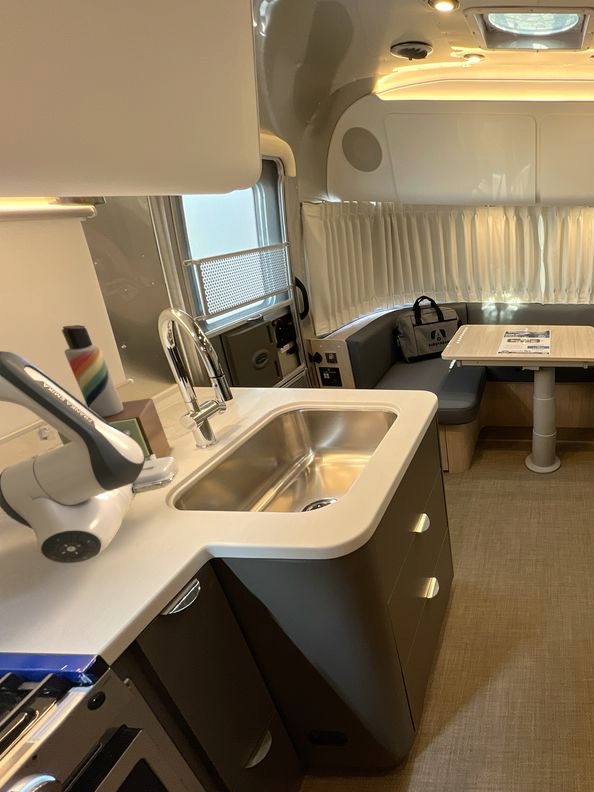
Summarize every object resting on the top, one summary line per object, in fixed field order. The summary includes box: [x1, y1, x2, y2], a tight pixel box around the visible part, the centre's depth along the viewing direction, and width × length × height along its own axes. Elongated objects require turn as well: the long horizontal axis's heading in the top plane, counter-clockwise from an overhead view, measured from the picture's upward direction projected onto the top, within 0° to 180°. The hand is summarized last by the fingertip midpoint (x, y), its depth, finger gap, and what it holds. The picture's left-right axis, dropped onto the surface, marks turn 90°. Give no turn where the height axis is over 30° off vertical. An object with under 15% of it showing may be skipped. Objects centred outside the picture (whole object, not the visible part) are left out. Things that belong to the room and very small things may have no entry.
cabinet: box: [101, 397, 171, 459], centre depth 111 cm, size 14×12×14 cm
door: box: [57, 418, 150, 457], centre depth 104 cm, size 13×5×13 cm, turn 115°
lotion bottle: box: [61, 324, 123, 417], centre depth 105 cm, size 6×6×20 cm
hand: (124, 462), depth 101 cm, fingers open, 8 cm apart
